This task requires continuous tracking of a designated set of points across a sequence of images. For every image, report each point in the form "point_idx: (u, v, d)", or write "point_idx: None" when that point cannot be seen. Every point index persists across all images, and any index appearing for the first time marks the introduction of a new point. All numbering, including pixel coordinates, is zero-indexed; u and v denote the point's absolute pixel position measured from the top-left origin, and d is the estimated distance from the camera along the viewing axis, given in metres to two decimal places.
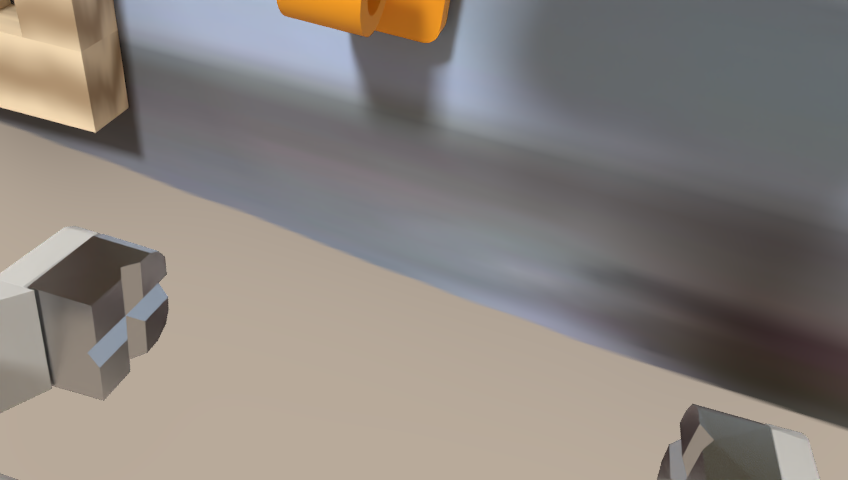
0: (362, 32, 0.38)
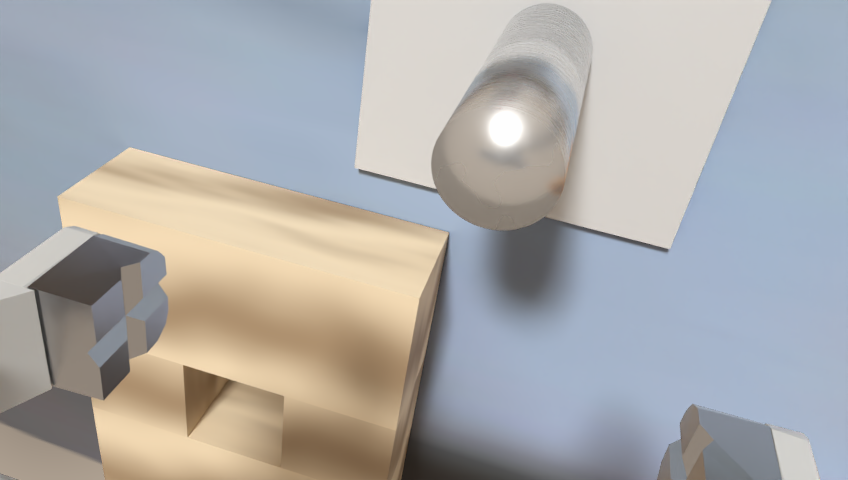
0: None
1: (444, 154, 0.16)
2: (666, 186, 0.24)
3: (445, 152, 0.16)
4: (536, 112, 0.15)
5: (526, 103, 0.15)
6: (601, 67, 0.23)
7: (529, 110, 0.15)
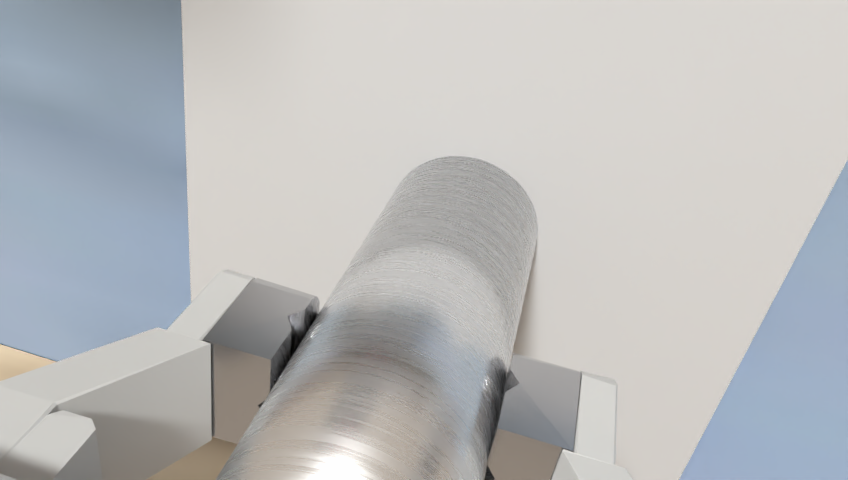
0: None
1: None
2: (659, 426, 0.16)
3: None
4: None
5: None
6: (552, 255, 0.14)
7: None
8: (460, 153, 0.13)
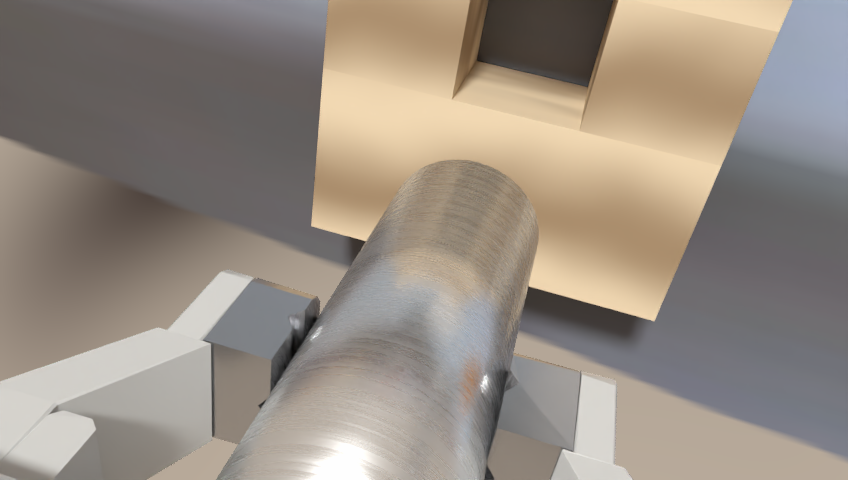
0: None
1: None
2: None
3: None
4: None
5: None
6: None
7: None
8: None
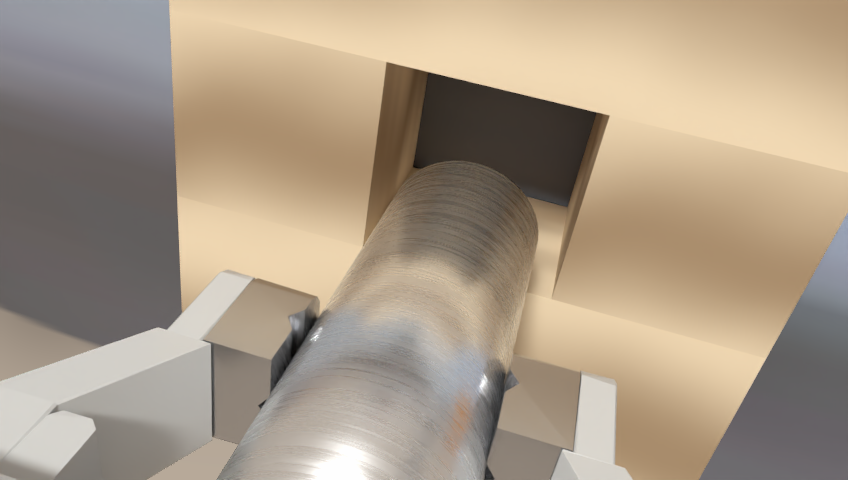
0: None
1: None
2: None
3: None
4: None
5: None
6: None
7: None
8: None
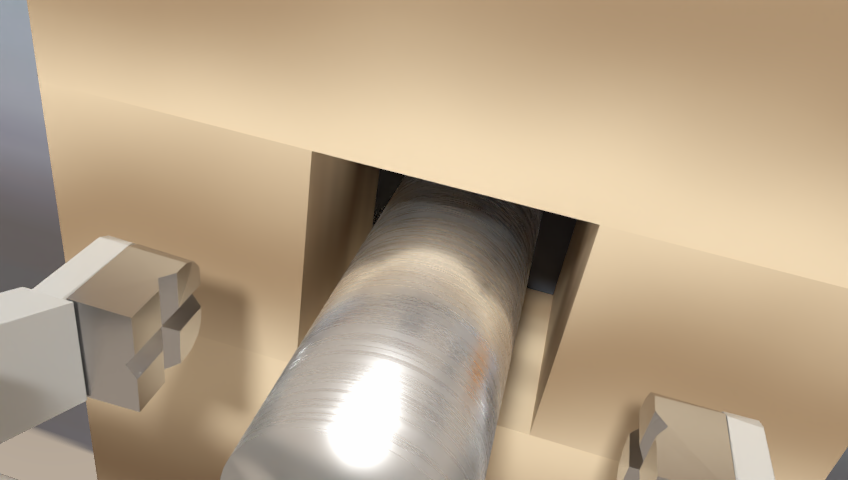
0: None
1: None
2: None
3: None
4: (410, 432, 0.08)
5: (390, 407, 0.08)
6: None
7: (394, 430, 0.08)
8: None
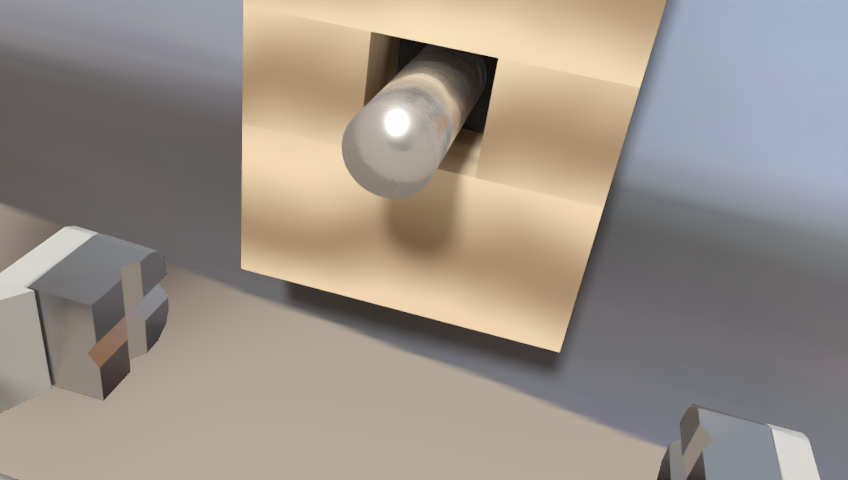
0: None
1: (350, 141, 0.22)
2: None
3: (351, 140, 0.22)
4: (414, 110, 0.21)
5: (407, 103, 0.21)
6: None
7: (408, 108, 0.21)
8: None
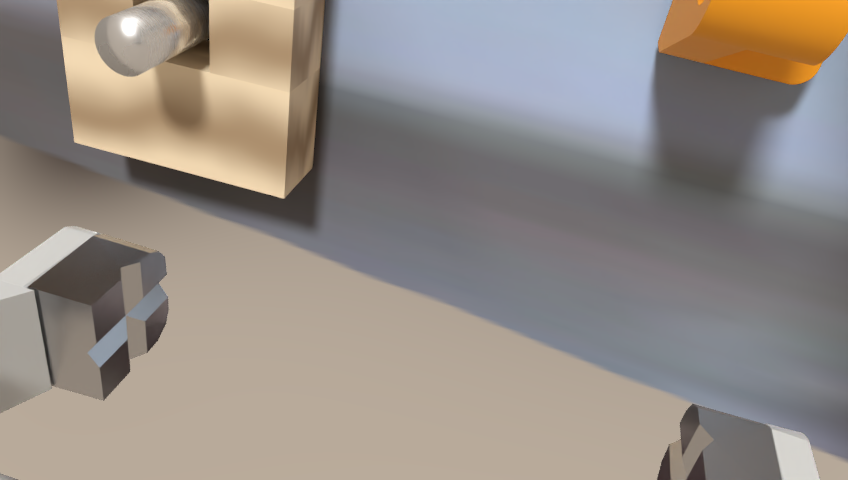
0: (826, 57, 0.26)
1: (99, 39, 0.35)
2: None
3: (99, 38, 0.35)
4: (134, 19, 0.35)
5: (131, 15, 0.35)
6: None
7: (130, 17, 0.34)
8: None
